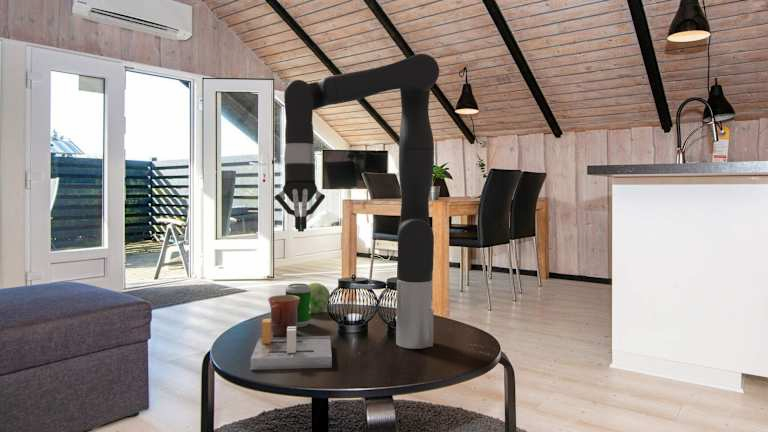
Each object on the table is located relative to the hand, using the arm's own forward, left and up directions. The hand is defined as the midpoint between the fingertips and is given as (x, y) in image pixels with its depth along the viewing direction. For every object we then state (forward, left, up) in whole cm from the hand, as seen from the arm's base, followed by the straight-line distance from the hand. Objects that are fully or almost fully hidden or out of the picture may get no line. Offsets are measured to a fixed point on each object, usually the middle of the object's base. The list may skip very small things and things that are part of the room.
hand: (300, 231), depth 131 cm
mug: (+5, -12, -30) cm, 33 cm away
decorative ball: (-4, -39, -30) cm, 49 cm away
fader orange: (+8, +3, -27) cm, 28 cm away
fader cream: (+2, +11, -27) cm, 29 cm away
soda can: (+1, -24, -30) cm, 39 cm away
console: (+1, +7, -30) cm, 31 cm away
